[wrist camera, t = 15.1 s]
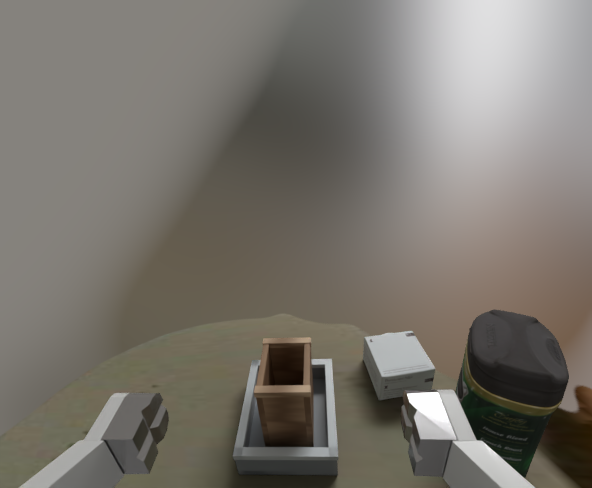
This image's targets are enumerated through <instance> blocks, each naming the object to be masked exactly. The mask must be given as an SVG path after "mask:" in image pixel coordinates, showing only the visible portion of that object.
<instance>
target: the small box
mask: <svg viewBox="0 0 592 488" xmlns="http://www.w3.org/2000/svg"><path fill="white" fill-rule="evenodd" d="M363 360H364V363H365V365H366V368H367V370H368V373H369V375H370V378H371V381H372V383H373V386H374V389H375V391H376V394H377V396H378V399H379V400H384V399H390V398H396V397H403V392H404V390H431V389H432V384H433V378H434V373H435V367H434V366H433V364H432V363H431V361H430V359H429V358H428V356H427V354H426V353H425V351H424V350H423V348H422V347H421V345H420V343H419V342H418V340H417V338H416V337H415V335H414V333H413V332H412V331H406V332H400V333H385V334H383V335H378V336H370V337H364V351H363Z"/></svg>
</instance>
